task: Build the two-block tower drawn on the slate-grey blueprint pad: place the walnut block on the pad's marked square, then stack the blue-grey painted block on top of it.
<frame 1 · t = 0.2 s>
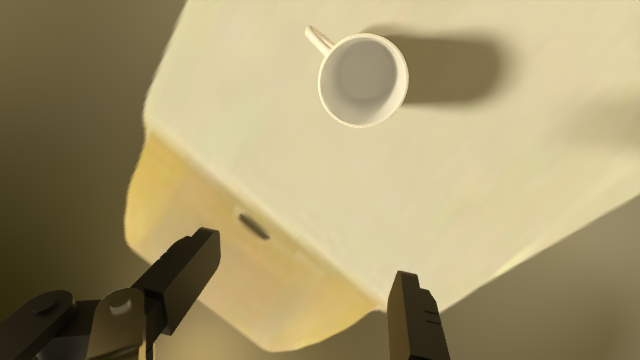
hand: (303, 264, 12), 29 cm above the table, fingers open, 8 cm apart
mug: (356, 62, 35), on the table
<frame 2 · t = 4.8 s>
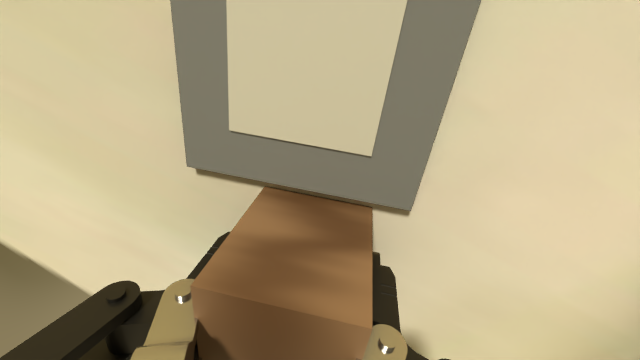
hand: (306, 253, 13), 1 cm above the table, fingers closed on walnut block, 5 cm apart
walnut block: (311, 239, 14), on the table, touching gripper
blueprint pad: (309, 63, 10), on the table
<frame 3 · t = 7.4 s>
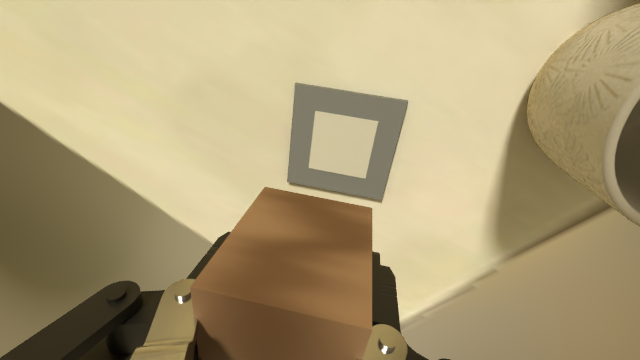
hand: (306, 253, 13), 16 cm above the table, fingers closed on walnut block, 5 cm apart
walnut block: (311, 240, 14), point 15 cm above the table, touching gripper
planter: (596, 90, 22), on the table
blueprint pad: (341, 144, 27), on the table
when the fingers open (3 cm above the table, at t = 10.1 s): walnut block stays where it is, resting on blueprint pad.
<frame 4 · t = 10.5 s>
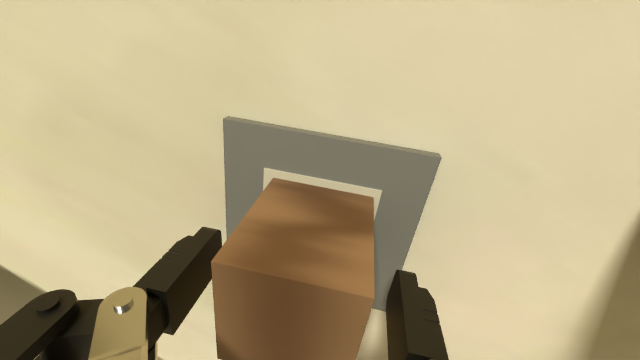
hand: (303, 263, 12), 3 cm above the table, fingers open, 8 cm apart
walnut block: (316, 228, 15), point 1 cm above the table, touching blueprint pad
blueprint pad: (316, 221, 15), on the table
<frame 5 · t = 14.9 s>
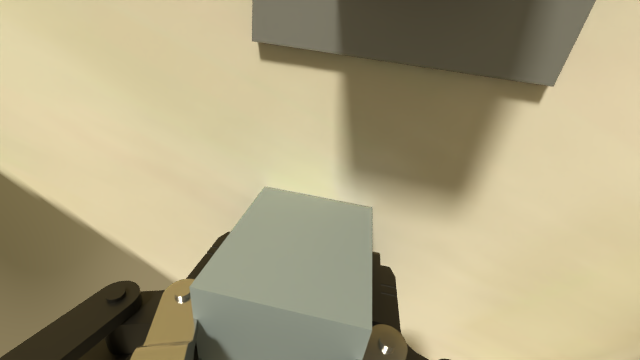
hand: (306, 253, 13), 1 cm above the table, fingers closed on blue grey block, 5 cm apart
blue grey block: (311, 240, 14), on the table, touching gripper
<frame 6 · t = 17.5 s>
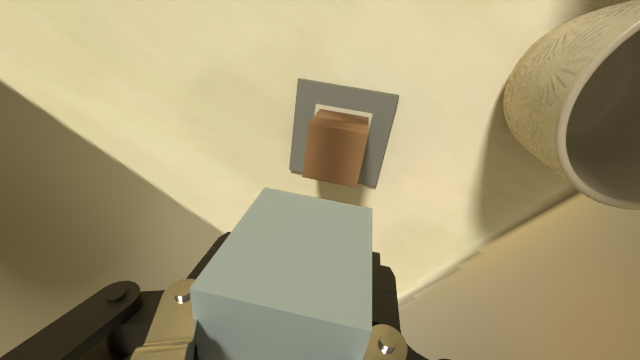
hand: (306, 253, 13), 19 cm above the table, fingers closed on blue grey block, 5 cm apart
blue grey block: (311, 240, 14), point 18 cm above the table, touching gripper
walnut block: (340, 136, 29), point 1 cm above the table, touching blueprint pad
planter: (563, 86, 25), on the table
blueprint pad: (339, 134, 30), on the table
when the fingers open (9 cm above the table, at t = 19.9 s): blue grey block drops 1 cm, resting on walnut block.
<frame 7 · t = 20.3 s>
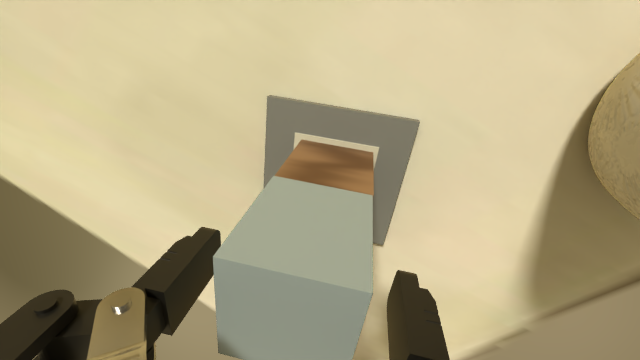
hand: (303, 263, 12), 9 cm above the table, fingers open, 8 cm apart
blue grey block: (315, 226, 15), point 7 cm above the table, touching walnut block
walnut block: (331, 178, 20), point 1 cm above the table, touching blue grey block, blueprint pad
blueprint pad: (331, 174, 21), on the table
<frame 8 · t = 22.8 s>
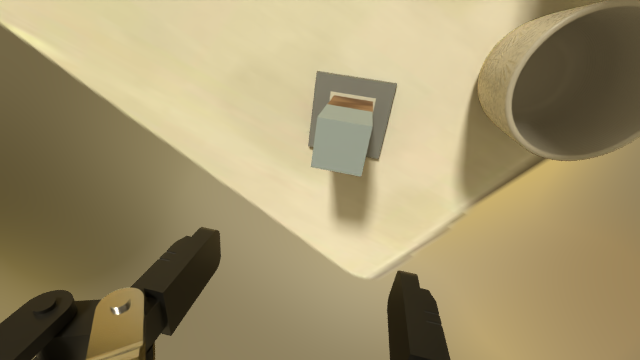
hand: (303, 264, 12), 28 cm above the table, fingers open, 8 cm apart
blue grey block: (345, 130, 31), point 7 cm above the table, touching walnut block
walnut block: (349, 117, 37), point 1 cm above the table, touching blue grey block, blueprint pad
planter: (525, 75, 32), on the table
blueprint pad: (349, 116, 37), on the table
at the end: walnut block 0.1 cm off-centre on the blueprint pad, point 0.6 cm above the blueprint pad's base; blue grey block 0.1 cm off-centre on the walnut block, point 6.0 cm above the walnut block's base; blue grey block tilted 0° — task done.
